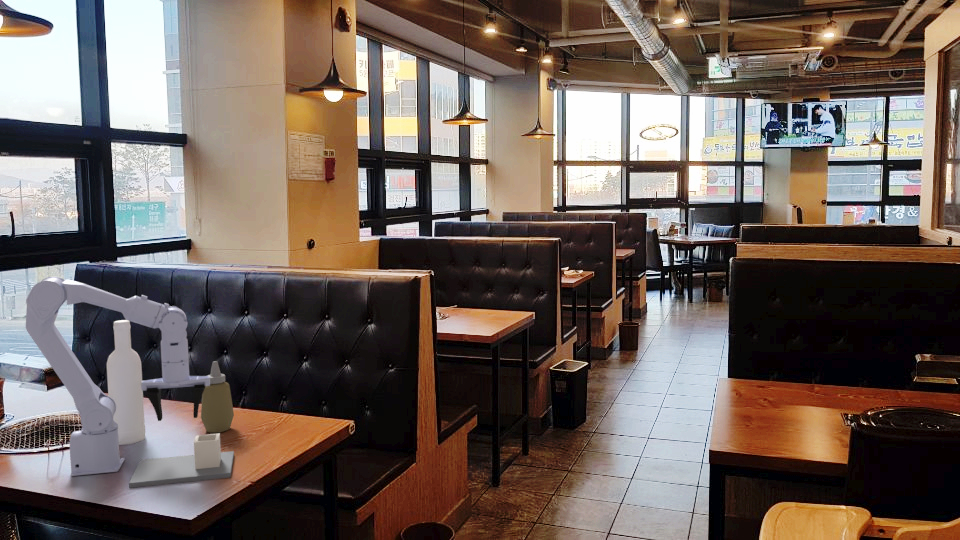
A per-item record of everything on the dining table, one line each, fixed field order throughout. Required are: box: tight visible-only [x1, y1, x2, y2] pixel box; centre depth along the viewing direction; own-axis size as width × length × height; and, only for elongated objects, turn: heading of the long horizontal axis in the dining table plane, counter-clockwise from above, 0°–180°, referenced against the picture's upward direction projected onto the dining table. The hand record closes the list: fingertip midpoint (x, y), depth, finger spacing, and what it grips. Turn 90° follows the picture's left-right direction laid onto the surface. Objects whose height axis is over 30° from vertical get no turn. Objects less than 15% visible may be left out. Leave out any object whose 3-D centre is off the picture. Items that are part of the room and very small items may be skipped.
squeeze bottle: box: [200, 360, 235, 434], centre depth 189 cm, size 8×8×18 cm
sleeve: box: [193, 432, 222, 469], centre depth 163 cm, size 5×5×6 cm
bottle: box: [106, 319, 146, 446], centre depth 181 cm, size 8×8×30 cm
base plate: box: [128, 450, 235, 489], centre depth 162 cm, size 20×14×4 cm
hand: (178, 418), depth 169 cm, fingers open, 7 cm apart
